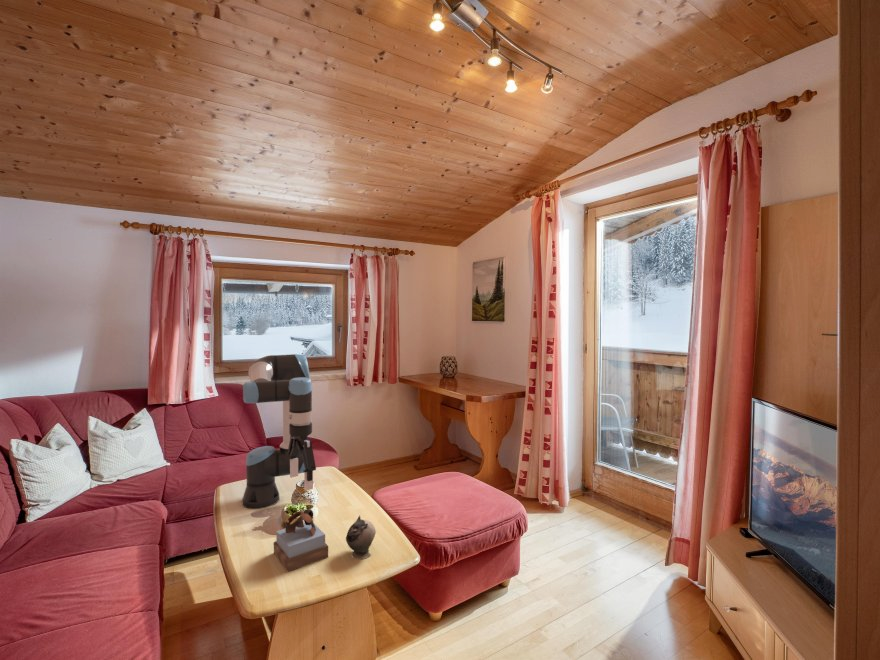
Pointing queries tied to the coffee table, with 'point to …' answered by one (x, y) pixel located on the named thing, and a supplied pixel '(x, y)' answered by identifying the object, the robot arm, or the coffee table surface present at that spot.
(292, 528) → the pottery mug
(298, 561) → the base brick
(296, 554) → the top brick
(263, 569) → the coffee table surface
